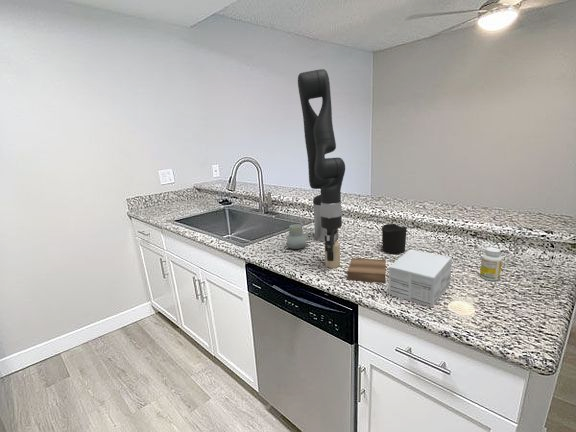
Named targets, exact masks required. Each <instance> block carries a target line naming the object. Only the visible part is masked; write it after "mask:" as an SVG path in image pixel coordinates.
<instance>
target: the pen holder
mask: <svg viewBox="0 0 576 432" xmlns="http://www.w3.org/2000/svg"><path fill="white" fill-rule="evenodd" d="M407 231H408V229H407V226H399V225H397V224H394V223H387V224H384V225H382V227H381V233H382V234H381V236H382V237H381V239H382V240H381V241H382V242H381V245H382V250H383V252H384V253H387V254H390V255H391V254H392V255H400V254H403V253H404V252H405V251H406V241H407V239H406V238H407Z"/></svg>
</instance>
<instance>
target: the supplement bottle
mask: <svg viewBox="0 0 576 432" xmlns="http://www.w3.org/2000/svg"><path fill="white" fill-rule="evenodd" d="M484 250H485V251H484V254H482V256H481V262H480V263H481V264H480V272H479V273H480V274H479V275H480V277H481V279H483V280H487V281H492V282H493V281H496V282H497V281H498V280H500V277H501V270H502V264H503V257H502V256H501V249H500V248H498V247H494V246H493V247H492V246H491V247H489V246H488V247H485V249H484Z"/></svg>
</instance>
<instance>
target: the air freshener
mask: <svg viewBox="0 0 576 432" xmlns="http://www.w3.org/2000/svg"><path fill="white" fill-rule="evenodd" d="M303 228H304V227H303V225H302V224H298V223H294V224H291V225H289V226H288V231H289V232H288V233H289V234H288V235H287V236H286V246H287V248H289V249H292V250H300V249H304V248H306V247H307V236H306V234H304V231H303Z"/></svg>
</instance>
